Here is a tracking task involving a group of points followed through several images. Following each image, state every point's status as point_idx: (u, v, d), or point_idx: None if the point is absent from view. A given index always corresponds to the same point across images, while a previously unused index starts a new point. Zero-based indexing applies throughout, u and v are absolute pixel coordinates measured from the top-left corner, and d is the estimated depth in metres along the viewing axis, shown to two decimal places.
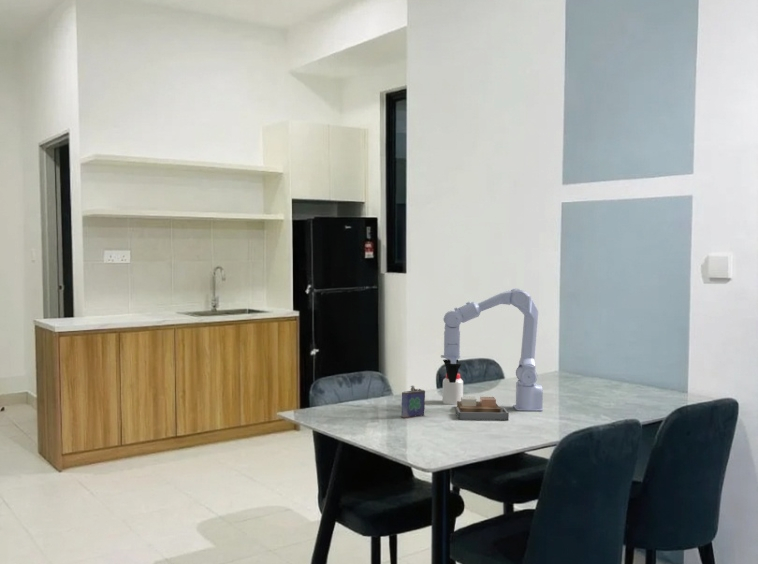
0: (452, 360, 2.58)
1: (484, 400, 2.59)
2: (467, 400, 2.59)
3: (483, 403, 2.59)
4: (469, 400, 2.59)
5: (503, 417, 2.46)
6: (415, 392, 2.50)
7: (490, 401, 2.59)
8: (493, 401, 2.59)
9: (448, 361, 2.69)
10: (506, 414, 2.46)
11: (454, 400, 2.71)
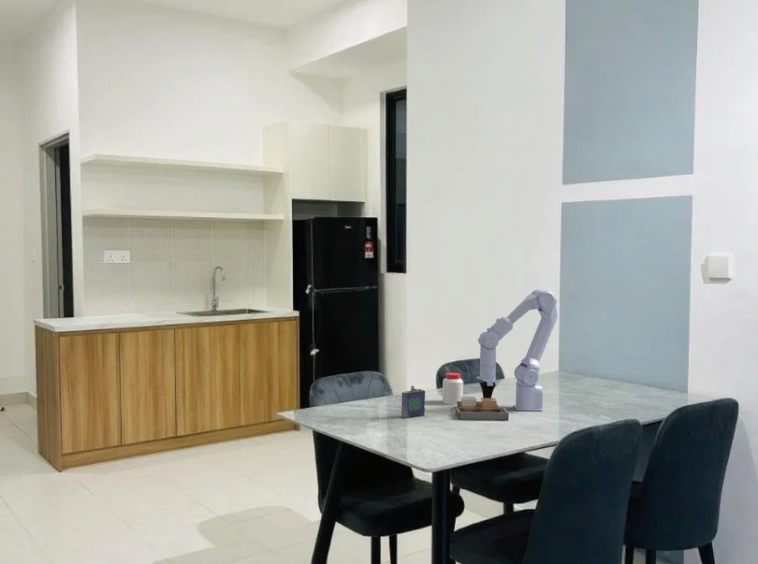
0: (489, 382, 2.56)
1: (485, 401, 2.57)
2: (467, 400, 2.59)
3: (484, 404, 2.57)
4: (469, 400, 2.59)
5: (503, 417, 2.46)
6: (415, 392, 2.50)
7: (491, 402, 2.57)
8: (494, 402, 2.57)
9: None
10: (506, 414, 2.46)
11: (454, 400, 2.71)
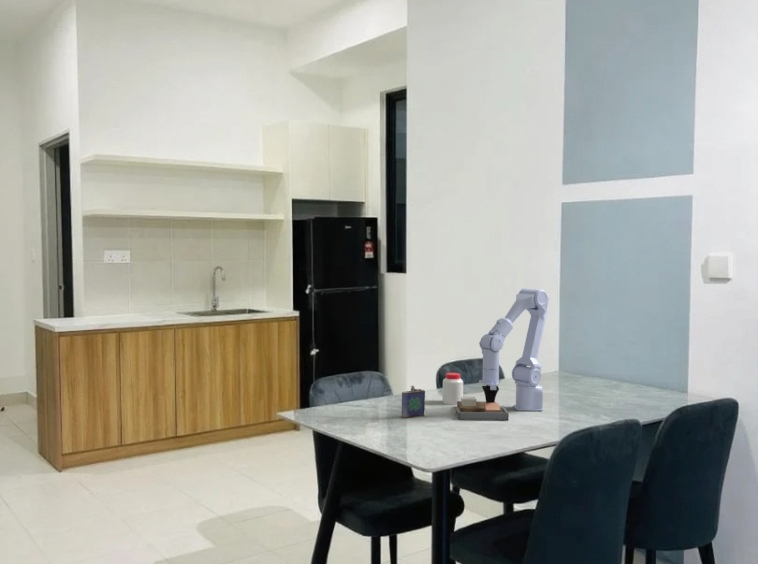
0: (492, 386, 2.48)
1: (488, 410, 2.50)
2: (467, 400, 2.59)
3: None
4: (469, 400, 2.59)
5: (503, 417, 2.46)
6: (415, 392, 2.50)
7: (494, 411, 2.50)
8: (498, 411, 2.50)
9: None
10: (506, 414, 2.46)
11: (454, 400, 2.71)
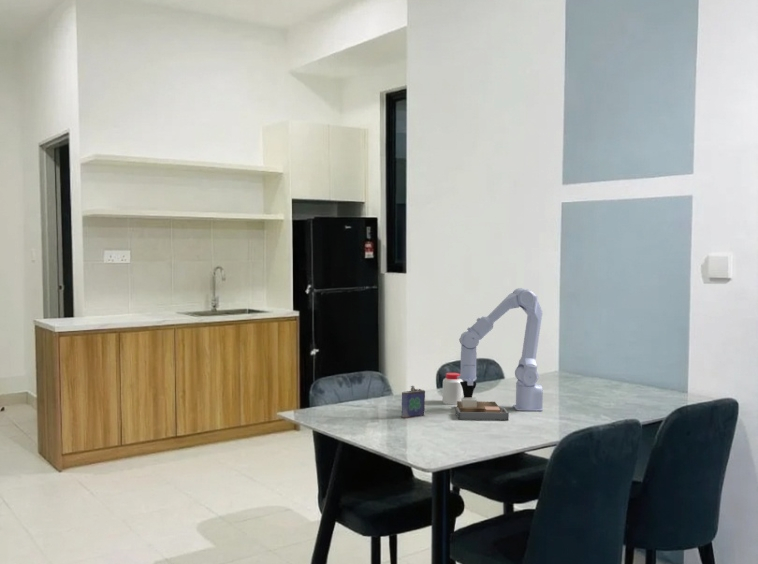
0: (469, 382, 2.56)
1: (488, 410, 2.50)
2: (467, 401, 2.57)
3: None
4: (469, 401, 2.57)
5: (503, 417, 2.46)
6: (415, 392, 2.50)
7: (494, 411, 2.50)
8: (497, 411, 2.50)
9: None
10: (506, 414, 2.46)
11: (454, 400, 2.71)
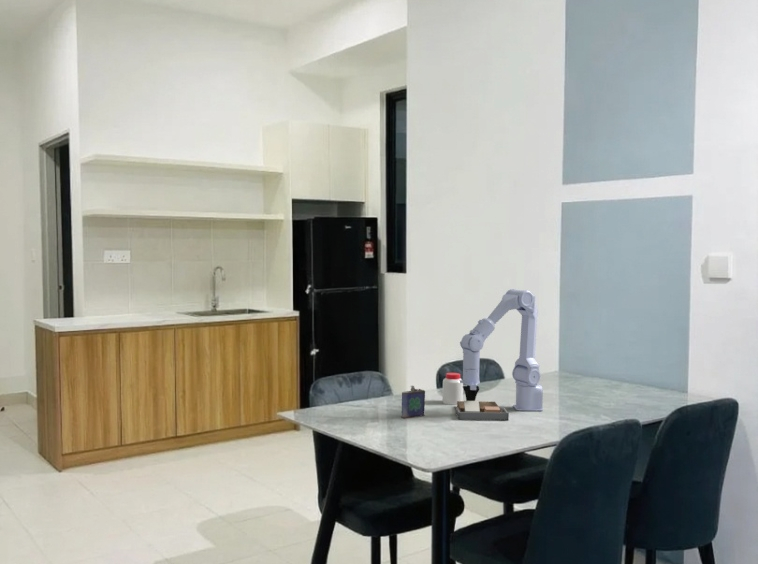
0: (472, 386, 2.47)
1: (488, 410, 2.50)
2: None
3: None
4: None
5: (503, 417, 2.46)
6: (415, 392, 2.50)
7: (494, 411, 2.50)
8: (497, 411, 2.50)
9: None
10: (506, 414, 2.46)
11: (454, 400, 2.71)
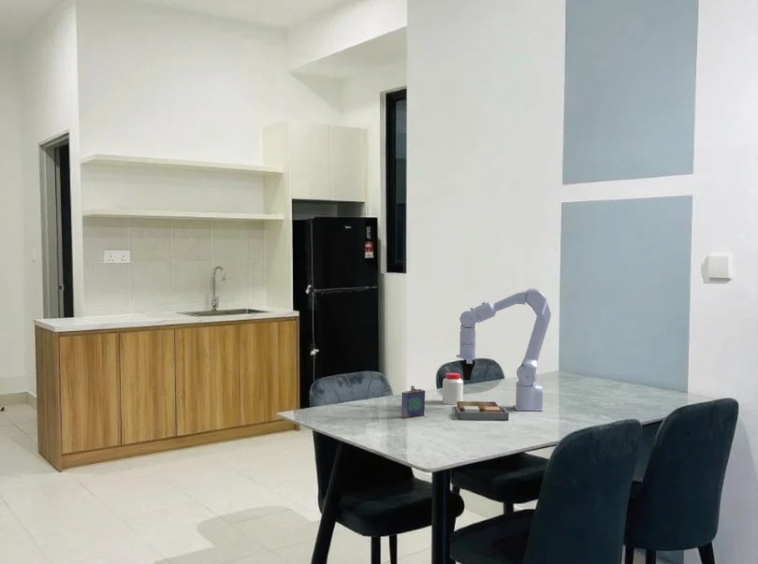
0: (468, 360, 2.60)
1: (488, 410, 2.50)
2: (470, 410, 2.50)
3: None
4: (472, 410, 2.50)
5: (503, 417, 2.46)
6: (415, 392, 2.50)
7: (494, 411, 2.50)
8: (497, 411, 2.50)
9: None
10: (506, 414, 2.46)
11: (454, 400, 2.71)
